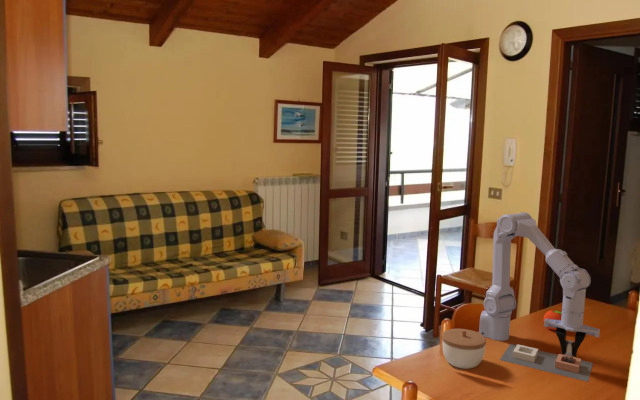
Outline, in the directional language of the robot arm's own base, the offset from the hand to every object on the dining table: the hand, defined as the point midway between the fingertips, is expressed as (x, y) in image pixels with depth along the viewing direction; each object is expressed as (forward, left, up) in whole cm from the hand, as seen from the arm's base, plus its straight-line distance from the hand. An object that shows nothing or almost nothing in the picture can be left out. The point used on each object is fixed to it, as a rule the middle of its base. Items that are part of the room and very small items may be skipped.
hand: (569, 354), depth 151 cm
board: (-6, 0, -5) cm, 8 cm away
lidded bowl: (-27, -15, -5) cm, 31 cm away
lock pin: (0, 0, -3) cm, 3 cm away
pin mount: (-12, 0, -4) cm, 13 cm away
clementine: (-8, +31, -5) cm, 32 cm away
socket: (0, 0, -4) cm, 4 cm away
